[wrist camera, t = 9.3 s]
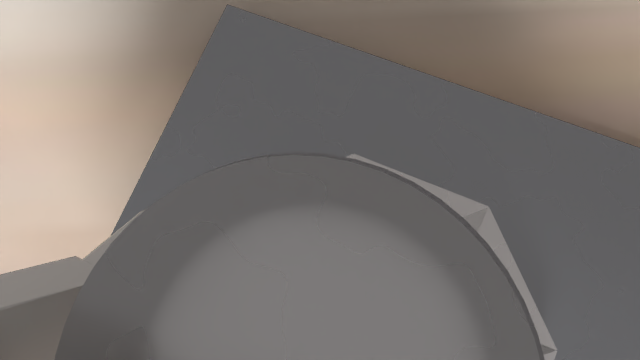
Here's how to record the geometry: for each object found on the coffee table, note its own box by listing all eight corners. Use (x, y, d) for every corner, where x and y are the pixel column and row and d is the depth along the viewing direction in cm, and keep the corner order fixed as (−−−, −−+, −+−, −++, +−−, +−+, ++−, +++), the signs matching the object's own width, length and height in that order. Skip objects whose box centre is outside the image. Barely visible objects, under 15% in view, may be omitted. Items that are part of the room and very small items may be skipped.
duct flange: (-1, 479, 16) (-61, 505, 14) (232, 13, 19) (211, -24, 16) (537, 810, 13) (566, 910, 11) (733, 189, 15) (788, 170, 13)
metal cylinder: (219, 394, 14) (-52, 531, 6) (301, 212, 15) (176, 80, 6) (407, 491, 13) (436, 849, 4) (484, 290, 14) (635, 260, 5)
